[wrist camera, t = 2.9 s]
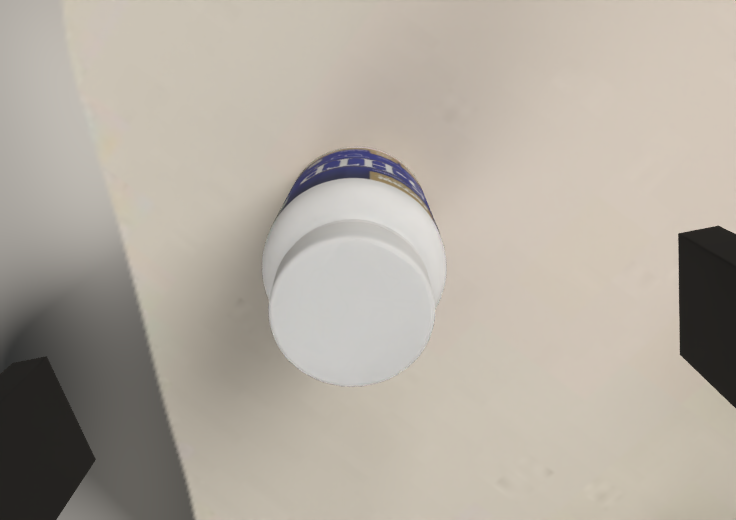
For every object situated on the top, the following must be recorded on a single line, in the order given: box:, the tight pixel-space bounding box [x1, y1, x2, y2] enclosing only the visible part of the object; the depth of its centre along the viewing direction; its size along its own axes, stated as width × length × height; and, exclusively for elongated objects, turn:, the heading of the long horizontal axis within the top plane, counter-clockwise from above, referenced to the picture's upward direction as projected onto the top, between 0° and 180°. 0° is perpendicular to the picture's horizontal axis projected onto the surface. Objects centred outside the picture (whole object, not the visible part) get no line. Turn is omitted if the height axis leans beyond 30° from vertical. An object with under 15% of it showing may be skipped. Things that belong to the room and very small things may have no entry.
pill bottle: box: [262, 147, 447, 387], centre depth 17 cm, size 5×5×9 cm
